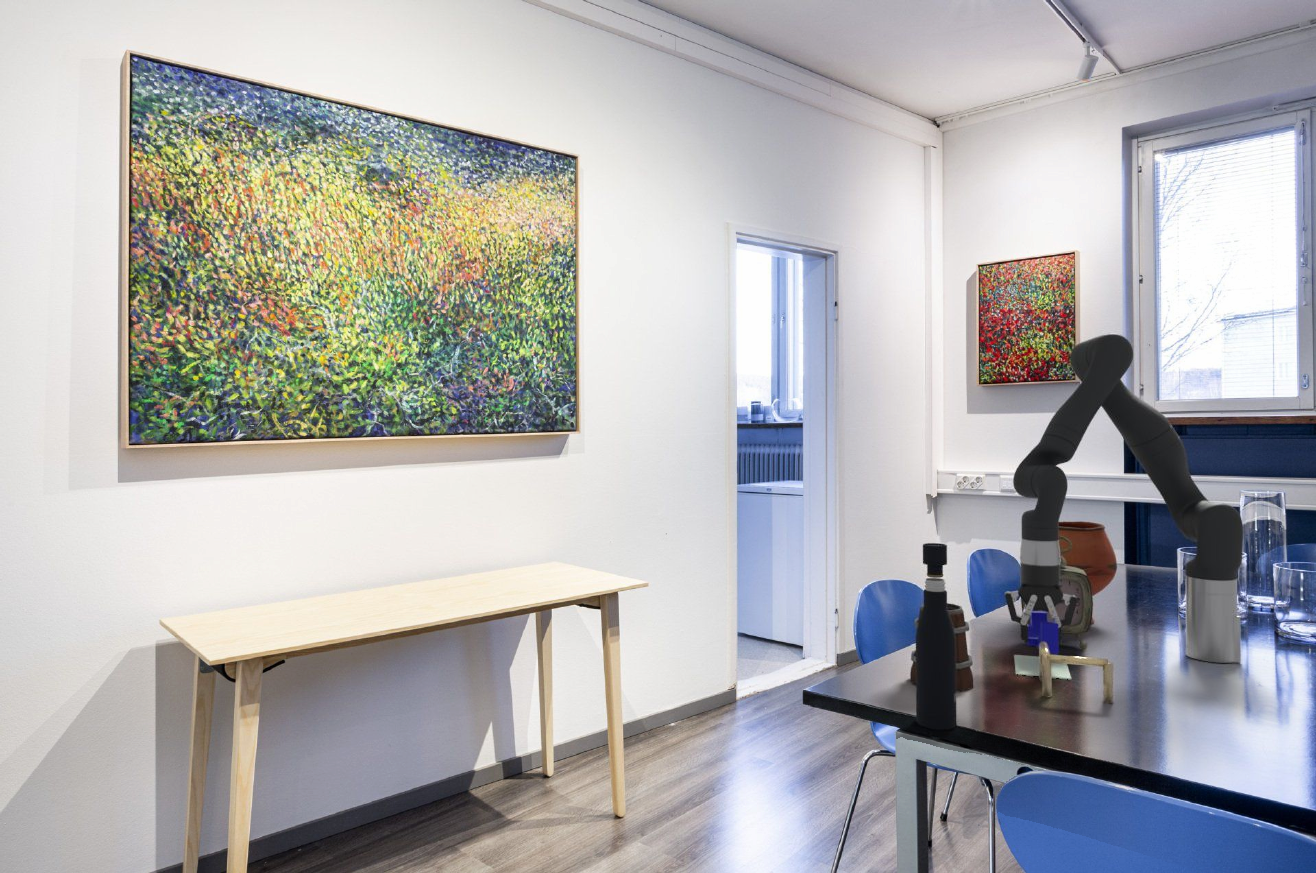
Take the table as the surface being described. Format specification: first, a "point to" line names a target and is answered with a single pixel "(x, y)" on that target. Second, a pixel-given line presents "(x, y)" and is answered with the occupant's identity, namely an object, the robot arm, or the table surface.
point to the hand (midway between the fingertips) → (1040, 643)
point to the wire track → (1047, 658)
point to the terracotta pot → (1089, 552)
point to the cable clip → (1043, 631)
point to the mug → (962, 658)
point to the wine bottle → (935, 648)
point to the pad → (1031, 667)
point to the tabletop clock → (1078, 585)
